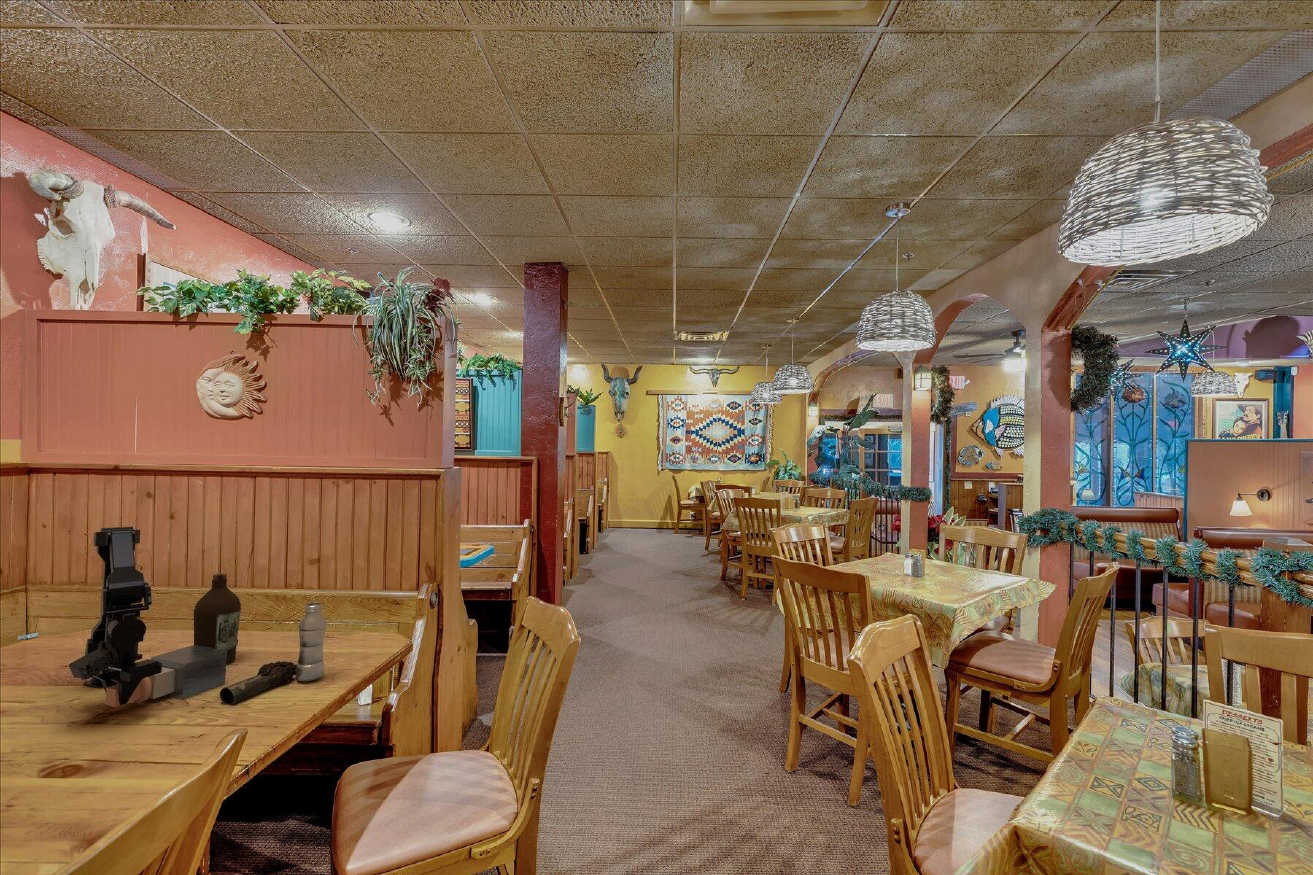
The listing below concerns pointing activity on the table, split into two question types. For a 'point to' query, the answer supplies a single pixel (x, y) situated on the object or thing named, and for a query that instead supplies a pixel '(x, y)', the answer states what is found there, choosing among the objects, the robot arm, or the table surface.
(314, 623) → the plastic bottle
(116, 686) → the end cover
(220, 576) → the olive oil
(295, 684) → the table surface
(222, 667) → the housing
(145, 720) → the table surface
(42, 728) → the table surface
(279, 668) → the metal pipe
